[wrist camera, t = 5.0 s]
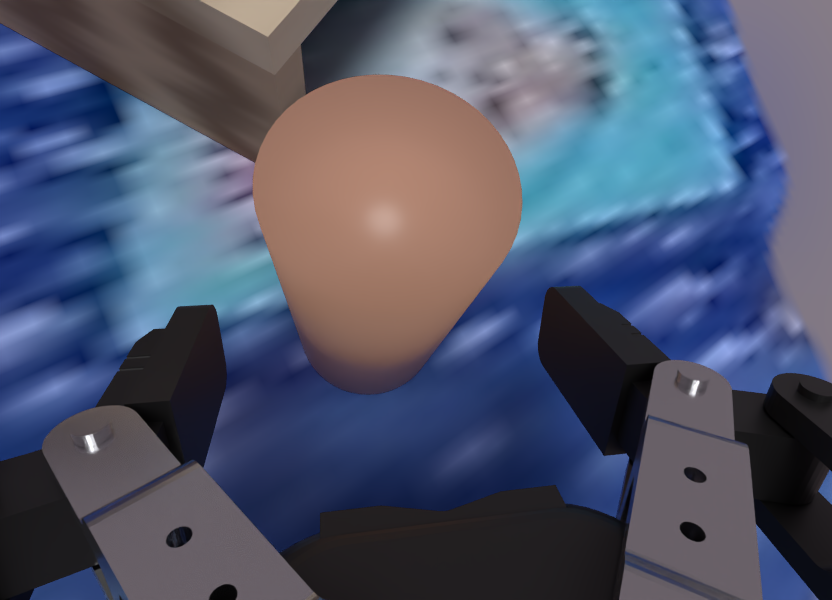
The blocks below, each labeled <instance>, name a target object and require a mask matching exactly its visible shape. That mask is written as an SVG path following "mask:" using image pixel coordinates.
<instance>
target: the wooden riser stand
mask: <svg viewBox="0 0 832 600" xmlns="http://www.w3.org/2000/svg"><path fill="white" fill-rule="evenodd" d="M336 2H337V0H0V23H1V24H3V25H5V26H7V27H8V28H10V29H12V30H14V31H16V32H18V33H19V34H21V35H23V36H25V37H27V38H29V39H30V40H32V41H34V42H36V43H38V44H40V45H41V46H43V47H45V48H47V49H49V50H50V51H52V52H54V53H56V54H58V55H60V56H61V57H63V58H65V59H67V60H69V61H71V62H72V63H74V64H76V65H78V66H80V67H82V68H83V69H85V70H87V71H89V72H91V73H92V74H94V75H96V76H98V77H100V78H102V79H103V80H105V81H107V82H109V83H111V84H113V85H114V86H116V87H118V88H120V89H122V90H124V91H125V92H127V93H129V94H131V95H133V96H134V97H136V98H138V99H140V100H142V101H144V102H145V103H147V104H149V105H151V106H153V107H155V108H156V109H158V110H160V111H162V112H164V113H166V114H167V115H169V116H171V117H173V118H175V119H177V120H178V121H180V122H182V123H184V124H186V125H187V126H189V127H191V128H193V129H195V130H197V131H198V132H200V133H202V134H204V135H206V136H208V137H209V138H211V139H213V140H215V141H217V142H219V143H220V144H222V145H224V146H226V147H228V148H229V149H231V150H233V151H235V152H237V153H239V154H240V155H242V156H244V157H246V158H248V159H250V160H251V161H253V162H256V159H257V156H258V153H259V149H260V147H261V145H262V143H263V141H264V139H265V137H266V135H267V133H268V131H269V130H270V129H271V127H272V126H273V124H274V123H275V121H276V120H277V119H278V118H279V117H280V116H281V115H282V114H283V113H284V111H285V110H286V109H287V108H289V107H290V106H291V105H292V104H294V103H295V102H296V101H297V100H298V99H300V98H302V97H303V96H305V95H306V90H305V80H304V71H303V62H302V52H301V43H302V42H303V41H304V40H305V39H306V37H307V36H308V35H309V34H310V33H311V31H312V30H313V29H314V28H315V27H316V25H317V24H318V23H319V22H320V21H321V20H322V18H323V17H324V16H325V15H326V14H327V12H328V11H329V10H330V9H331V8H332V6H333V5H334V4H335V3H336Z"/></svg>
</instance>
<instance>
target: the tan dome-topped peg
mask: <svg viewBox="0 0 832 600" xmlns="http://www.w3.org/2000/svg"><path fill="white" fill-rule="evenodd" d="M253 198H254V205H255V211H256V214H257V217H258V221H259V224H260V227H261V230H262V233H263V235H264V238H265V241H266V244H267V247H268V250H269V252H270V255H271V258H272V261H273V264H274V267H275V269H276V272H277V275H278V278H279V281H280V283H281V286H282V289H283V292H284V295H285V298H286V300H287V303H288V306H289V309H290V312H291V315H292V317H293V320H294V323H295V326H296V329H297V332H298V334H299V337H300V340H301V343H302V346H303V349H304V351H305V354H306V356H307V358H308V360H309V362H310V363H311V365H312V366H313V368H314V369H315V370H316V371H317V372H318V374H319V375H320V376H322V377H323V378H324V379H325V380H326V381H328V382H329V383H331V384H332V385H334V386H336V387H338V388H340V389H342V390H345V391H348V392H351V393H357V394H368V395H369V394H379V393H384V392H388V391H391V390H393V389H396V388H398V387H400V386H402V385H404V384H405V383H406V382H408V381H409V380H411V379H412V378H413V377H414V376H415V375H416V374H417V373H418V372H419V371H420V369H421V368H422V367H423V366H424V364H425V363H426V362H427V360H428V359H429V358H430V356H431V355H432V354H433V352H434V351H435V350H436V349H437V347H438V346H439V345H440V343H441V342H442V341H443V339H444V338H445V337H446V335H447V334H448V333H449V331H450V330H451V329H452V328H453V326H454V325H455V324H456V322H457V321H458V320H459V318H460V317H461V316H462V314H463V313H464V312H465V311H466V309H467V308H468V307H469V305H470V304H471V303H472V301H473V300H474V299H475V297H476V296H477V295H478V293H479V292H480V291H481V290H482V288H483V287H484V286H485V284H486V283H487V282H488V280H489V279H490V278H491V276H492V275H493V274H494V272H495V271H496V270H497V269H498V267H499V266H500V265H501V263H502V262H503V260H504V259H505V257H506V255H507V254H508V252H509V251H510V249H511V247H512V244H513V242H514V240H515V237H516V235H517V232H518V228H519V224H520V220H521V211H522V189H521V183H520V178H519V173H518V170H517V167H516V164H515V161H514V159H513V156H512V154H511V152H510V150H509V148H508V146H507V145H506V143H505V141H504V140H503V138H502V137H501V135H500V134H499V132H498V131H497V130H496V129H495V128H494V126H493V125H492V124H491V123H490V122H489V121H488V120H487V119H486V118H485V117H484V116H483V115H482V114H481V113H480V112H479V111H478V110H477V109H475V108H474V107H473V106H471V105H470V104H469V103H467V102H466V101H465V100H463V99H461V98H460V97H458V96H456V95H455V94H453V93H451V92H449V91H447V90H445V89H443V88H441V87H439V86H436V85H433V84H430V83H427V82H425V81H422V80H417V79H413V78H409V77H403V76H395V75H364V76H355V77H351V78H346V79H341V80H338V81H335V82H332V83H329V84H326V85H324V86H322V87H319V88H317V89H315V90H313V91H311V92H310V93H308V94H306V95H305V96H303V97H302V98H300V99H298V100H297V101H296V102H295V103H294V104H292V105H291V106H290V107H289V108H287V109H286V110H285V111H284V113H283V114H282V115H281V116H280V117H279V118H278V119H277V120H276V121H275V123H274V124H273V126H272V127H271V129H270V130H269V131H268V133H267V135H266V137H265V139H264V141H263V143H262V145H261V147H260V149H259V153H258V156H257V159H256V162H255V168H254V174H253Z"/></svg>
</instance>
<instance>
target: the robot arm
mask: <svg viewBox="0 0 832 600" xmlns="http://www.w3.org/2000/svg"><path fill="white" fill-rule="evenodd" d="M538 352H539V357H540V361H541V363H542V365H543V367H544V368H545V370H546V371H547V373H548V374H549V376H550V377H551V378H552V380H553V381H554V383H555V384H556V386H557V387H558V389H559V390H560V392H561V393H562V395H563V396H564V398H565V399H566V400H567V402H568V403H569V405H570V406H571V408H572V409H573V411H574V412H575V414H576V415H577V417H578V418H579V420H580V421H581V423H582V424H583V425H584V427H585V428H586V430H587V431H588V433H589V434H590V436H591V437H592V439H593V440H594V442H595V443H596V445H597V446H598V448H599V449H600V450H601V452H602V453H603V455H604V456H607V455H616V454H625V453H627V455H628V456H629V461H628V464H627V468H626V471H625V476H624V481H623V486H622V491H621V495H620V500H619V505H618V510H617V515H616V518H614V517H612V516H610V515H607V514H605V513H602V512H600V511H597V510H593V509H590V508H587V507H583V506H578V505H573V504H565V502H564V501H563V499H562V497H561V495H560V493H559V491H558V489H557V487H556V485H551V486H543V487H534V488H526V489H517V490H509V491H501V492H498V493H495V494H492V495H490V496H487V497H484V498H482V499H479V500H476V501H474V502H471V503H468V504H465V505H463V506H460V507H457V508H455V509H452V510H448V511H432V510H422V509H411V508H401V507H391V506H374V507H365V508H357V509H348V510H340V511H331V512H323V513H320V533H318V534H316V535H313V536H310V537H308V538H306V539H304V540H302V541H300V542H298V543H296V544H294V545H292V546H290V547H289V548H287V549H286V550H284V551H282V552H281V553H278V552H277V551H276V549H275V548H274V547H273V546H272V545H271V544H270V543H269V542H268V540H267V539H266V538H265V537H264V536H263V535H262V534H261V533H260V531H259V530H258V529H257V528H256V527H255V526H254V525H253V524H252V523H251V521H250V520H249V519H248V518H247V517H246V516H245V515H244V514H243V512H242V511H241V510H240V509H239V508H238V507H237V506H236V505H235V503H234V502H233V501H232V500H231V499H230V498H229V497H228V496H227V495H226V493H225V492H224V491H223V490H222V489H221V488H220V487H219V486H218V484H217V483H216V482H215V481H214V480H213V479H212V478H211V477H210V475H209V474H208V473H207V472H206V471H205V470H204V469H203V467H204V463H205V460H206V456H207V453H208V449H209V446H210V442H211V439H212V435H213V431H214V428H215V424H216V421H217V417H218V414H219V410H220V406H221V403H222V399H223V396H224V392H225V388H226V379H227V372H226V361H225V356H224V350H223V345H222V339H221V333H220V328H219V322H218V317H217V312H216V309H215V307H214V305H198V306H179V307H177V308H176V310H175V312H174V314H173V315H172V317H171V319H170V321H169V323H168V325H167V326H166V328H165V329H153V330H152V331H150V332H149V333H148V334H146V335H145V336H144V337H142V338H141V339H139V340H138V341H137V342H136V343H135V344H134V346H133V347H132V349H131V351H130V352H129V354H128V355H127V359H125V360H124V362H123V363H122V365H121V367H120V368H119V369H120V371H118V372H117V373H116V375H115V376H114V378H113V379H112V381H111V383H110V384H109V386H108V388H107V389H106V391H105V392H104V394H103V396H102V397H101V399H100V400H99V402H98V404H97V405H96V407H95V408H92V409H89V410H86V411H83V412H80V413H78V414H76V415H73V416H71V417H70V418H68V419H66V420H64V421H63V422H61V423H60V424H58V425H57V426H56V427H55V428H54V429H52V430H51V432H50V433H49V434H48V435H47V436H46V438H45V440H44V442H43V445H42V449H41V450H38V451H35V452H32V453H29V454H25V455H22V456H18V457H14V458H11V459H7V460H4V461H0V600H29V599H30V597H31V595H32V593H33V591H34V588H37V587H39V586H42V585H45V584H47V583H50V582H53V581H55V580H58V579H60V578H63V577H66V576H68V575H71V574H74V573H76V572H79V571H81V570H84V569H87V568H89V567H91V570H92V572H93V574H94V575H95V577H96V579H97V581H98V583H99V585H100V587H101V589H102V591H103V593H104V595H105V597H106V599H107V600H763V599H762V588H761V577H760V566H759V555H758V544H757V533H756V524H757V526H758V527H759V528H760V529H761V530H762V532H763V533H764V534H765V535H766V536H767V538H768V539H769V540H770V541H771V542H772V544H773V545H774V546H775V547H776V548H777V550H778V551H779V552H780V553H781V555H782V556H783V557H784V558H785V559H786V561H787V562H788V563H789V564H790V565H791V567H792V568H793V569H794V570H795V571H796V573H797V574H798V575H799V576H800V577H801V579H802V580H803V581H804V582H805V583H806V585H807V586H808V587H809V588H810V590H811V591H812V592H813V593H814V594H815V596H816V597H817V598H818V599H819V600H832V505H831V504H830V503H829V502H828V501H827V500H826V499H825V498H824V497H823V496H822V495H821V494H820V493H819V492H818V490H819V489H820V487H821V485H822V483H823V481H824V479H825V477H826V475H827V473H828V472H829V470H831V471H832V383H829V382H827V381H824V380H822V379H819V378H816V377H812V376H808V375H803V374H796V373H785V374H780V375H777V376H775V377H774V378H773V380H772V383H771V385H770V387H769V390H768V392H767V394H762V393H754V392H746V391H738V390H732V388H731V386H730V384H729V382H728V381H727V380H726V379H725V378H724V377H723V376H721V375H720V374H719V373H717V372H715V371H714V370H712V369H710V368H707V367H705V366H702V365H700V364H696V363H693V362H688V361H682V360H670V359H669V358H668V357H667V356H666V355H665V354H664V353H663V352H662V351H661V350H659V349H658V348H657V347H656V346H655V345H654V344H653V343H652V342H651V341H650V340H648V339H647V338H646V337H645V336H644V335H641V332H640V331H639V330H638V329H636V328H635V327H634V326H631V323H630V322H629V321H628V320H627V319H625V318H624V317H623V316H622V315H621V314H620V313H619V312H617V311H615V310H613V309H611V308H609V307H607V306H605V305H603V304H601V303H598V302H597V301H596V300H595V299H594V298H593V297H592V296H591V295H590V294H589V293H587V292H586V291H585V290H584V289H583V288H582V287H581V286H566V287H551V288H549V289H548V290H547V292H546V295H545V300H544V306H543V313H542V319H541V326H540V332H539V339H538Z"/></svg>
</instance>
